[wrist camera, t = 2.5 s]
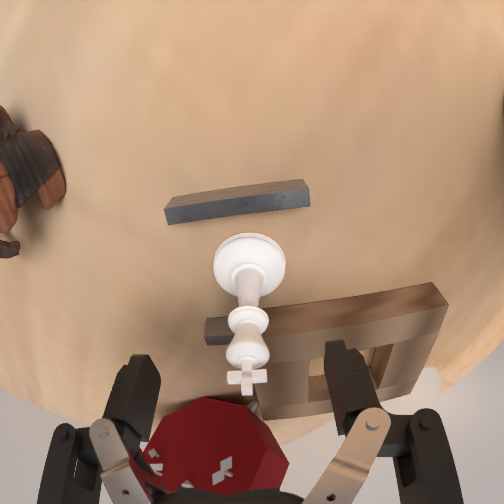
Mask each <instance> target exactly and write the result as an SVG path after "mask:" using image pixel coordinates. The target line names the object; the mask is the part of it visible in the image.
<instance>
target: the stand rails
mask: <svg viewBox="0 0 504 504" xmlns="http://www.w3.org/2000/svg"><path fill="white" fill-rule="evenodd" d="M309 206H310V196H309V188H308V187H307V185H306V183H305V182H304V180H303V179H301V180H291V181H282V182H273V183H265V184H257V185H249V186H242V187H235V188H228V189H221V190H215V191H208V192H202V193H196V194H190V195H184V196H178V197H173V198H172V199H171V201H170V202H169V203H168V204H167V206H166V207H165V208H164V211H165V215H166V218H167V222H168V225H172V224H179V223H185V222H192V221H198V220H205V219H212V218H219V217H227V216H234V215H242V214H249V213H257V212H265V211H274V210H282V209H291V208H300V207H309ZM234 335H235V333H234V332H233V331H232V330H231V329H230V327H229V324H228V317H222V318H209V319H207V323H206V328H205V334H204V338H205V341H206V343H207V346H208V345H225V344H230V343H231V341H232V340H233V338H234Z"/></svg>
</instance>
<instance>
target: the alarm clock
mask: <svg viewBox="0 0 504 504" xmlns="http://www.w3.org/2000/svg"><path fill="white" fill-rule="evenodd" d="M257 404H258V403H257V401H254V400H253V401H252V402H251V403H250V404H249V405H248V406H245V405H240V404H235V403H229V402H224V401H219V400H215V399H210V398H206V397H202V398H200V399H198V400H196V401H194V402H192V403H190V404H188V405H187V406H185V407H183V408H181V409H179V410H177V411H175V412H173V413H171V414H169V415H167V416H165V417H163V418H162V420H161V422H160V424H159V425H158V427H157V429H156V431H155V432H154V434H153V436H152V437H151V439H150V441H149V443H148V444H147V446H146V448H145V450H144V451H143V454H144V456H145V457H146V459H147V461H148V463H149V464H150V466H151V468H152V469H153V471H154V473H155V474H156V476H157V477H158V479H159V480H160V481H161V482H162V483H163V484H164V485H165V486H166V487H167V489H168V490H169V492H174V491H177V487H186V488H198V489H204V490H207V491H211V492H214V493H218V494H222V495H231V494H236V493H241V492H245V491H249V490H253V489H271V488H279V489H280V486H281V484H282V481H283V479H284V476H285V474H286V471H287V468H288V466H289V462H288V460H287V458H286V457H285V455H284V453H283V452H282V450H281V448H280V446H279V445H278V443H277V441H276V439H275V438H274V436H273V434H272V432H271V430H270V429H269V427H268V426H267V425H266V424H265V423H264V422H263V421H262V420H261V419H259V418H258V417H257V416H256V415H255V414H254V412H255V410H256V407H257Z"/></svg>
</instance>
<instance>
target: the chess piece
mask: <svg viewBox="0 0 504 504" xmlns="http://www.w3.org/2000/svg"><path fill="white" fill-rule="evenodd" d="M285 267H286V260H285V256H284V253H283V251H282V249H281V248H280V246H279V245H278V244H277V243H276V242H275V241H274V240H272V239H271V238H269V237H267V236H265V235H262V234H258V233H250V232H249V233H240V234H236V235H234V236H231V237H229V238H228V239H226V240H225V241H224V242H223V243H221V245H220V246H219V247H218V249H217V250H216V252H215V255H214V259H213V271H214V275H215V278H216V280H217V282H218V283H219V285H220V286H221V287H222V288H223V289H224V290H225V291H227V292H228V293H230V294H232V295H234V296H237V297H238V303H239V307H238V308H236V309H234V310H233V311H232V312H231V313H230V314H229V316H228V324H229V327H230V329H231V330H232V331H233V332H234V333H235V335H234V338H233V340H232V341H231V343H230V344H229V346H228V348H227V351H226V358H227V360H228V362H229V363H230V364H231V365H233V366H234V367H236V368H239V369H242V371H227V381H228V384H241V392H242V396H245V395H253V383H266V382H267V371H266V369H259V370H253V369H257V368H260V367H262V366H263V365H265V364H266V363H267V361H268V360H269V356H270V354H269V350H268V348H267V345H266V344H265V342H264V341H263V339H262V336H261V334H262V333H263V332H264V331H265V330H266V329H267V326H268V323H269V318H268V315H267V314H266V312H265V311H263V310H262V309H260V308H258V305H259V299H260V297H262V296H265V295H267V294H269V293H271V292H272V291H274V290H275V289H276V288H277V287H278V286H279V285H280V283H281V282H282V280H283V278H284V275H285Z"/></svg>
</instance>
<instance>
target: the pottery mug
mask: <svg viewBox="0 0 504 504" xmlns="http://www.w3.org/2000/svg"><path fill="white" fill-rule="evenodd" d="M19 129H20V127H19V126H17V125H15V124H14V123H13V122H12V121H11V119H10V117H9V115H8V114H7V112H6V110H5V109H4V108H3V107H2V106H0V233H3V232H5V231H9V230H11V229H12V227H13V226H14V225H15V223H16V221H17V215H18V210H17V209H18V208H20V207H21V206H22V205H23V204H24V202H25V201H26V200H27V199H28V198H29V197H30V196H31V195H32V193H33V192H34V191H35V190H36V192H37V194H38V195H39V198H40V199H41V202H42V205H43V208H44V209H46V210H49V209H50V208H52V207H53V206H54V205H55V203H56V202H57V201H58V200H59V199H60V198H61V197H62V196H63V195H64V194H65V193H66V189H65V182H64V178H63V175H62V173H61V169H60V167H59V163H58V161H57V159H56V156H55V152H54V150H53V149H52V147H51V144H50V142H49V141H48V139H47V138H46V137H45V136H44V134H43V133H42V132H41V131H40V130H34V131H30V132H23V133H18V132H19ZM19 250H20V243H19V241H12V242H7V241H2V240H0V258H6V259H7V258H11V257H13V256H16V255H19Z"/></svg>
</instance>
